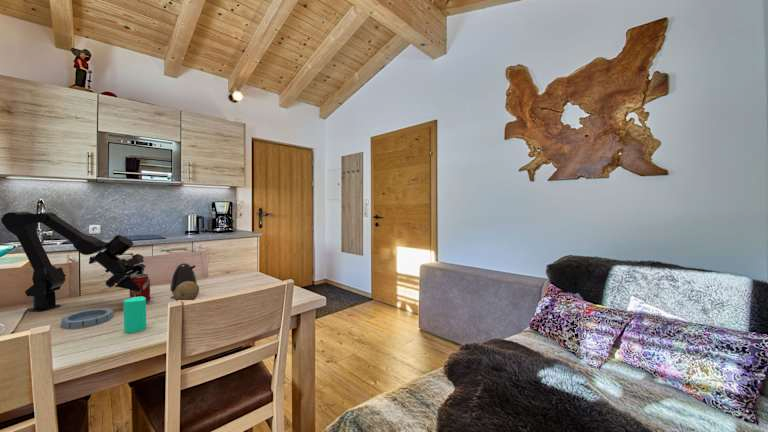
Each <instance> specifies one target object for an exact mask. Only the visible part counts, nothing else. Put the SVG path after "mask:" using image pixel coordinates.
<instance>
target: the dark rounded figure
mask: <svg viewBox="0 0 768 432" xmlns="http://www.w3.org/2000/svg"><path fill="white" fill-rule="evenodd" d="M196 267H197V266H196V265H192V266H191V264H189V263H183V262H182V263H180V264H179V265H177V266H176V268H175V270H174V272H173V275H172V277H171V282H170V292H171V293H172V295H173V294H174V291H175V289H176V287H177V286H178V285H179V284H181V283H183V282H186V281H192V282H195V283H196V284H197V285H198V283H197V282H198V281H197V277H196V274H195V272H194V271H195V270H193V269H195V268H196Z"/></svg>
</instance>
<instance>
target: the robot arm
mask: <svg viewBox="0 0 768 432" xmlns="http://www.w3.org/2000/svg"><path fill="white" fill-rule="evenodd" d="M0 221H1V224H2V225H3V226H4V227H5V229H6V230H7V231H8V232H10V233H12V234H13V235H14V236H15V237H16V238H17V239H18V242H19V244H20V246H21V247H22V249H23V251H24V253H25V256H26V258H27V259H28V261H29V263H30V265H31V267H32V269H33V273H32V277H31V280H32V285H31V286H30V287H29V288H27V289H26V290H25V291H24V293H25V295H26V296H27V297H32V307H29V308H27V311H33V312H43V311H48V310H51V309H54V308H58V307H61V304H57V301H56V300H57V298H56V291H59V290H60V289H61V287H62V286H63V284H64V283H65V282H66V277H67V275H66V274H65V273H64V269H63V268H62V267H55V266H54V265H52V263H51V260H50V258H49V256H48V254H47V252H46V250H45V249H44V246H43V244H42V242H41V240H40V238H39V236H38V234H37V232H36V231H37V228H38V224H39V223H41V224H42V225H44V226H46V227H48V228H49V229H50V230H52V231H54V232H55V233H57V234H58V235H60V236H61V237H63V238H64V239H66V240H68V241H69V242H70V243H71V244H72V245H73V247H74V248H75V250H76V251H78V252H79V253H80V254H81V255H84V256H90V255H92V256H90V257H89V260H88V264H89V265H92V264H95V263H98V264H99V265H100V266H101V267H103V268H104V269H105V270H104V272H105V273H111V274H112V276H110V277H109V278H108V279H107V280H106V281H105V286H107V287H108V288H109V289H110V288H112V287H115V288H121V289H125V290H129V291H130V290H134V291H140V290H141V289H140V288H139V287H138V286H137V285H136V284H135V283H134V282H133V281H132V280H131V278H132V277H131V276H133V275H138V274H144V271H145V268H146V265H145V264H143V262H145V260H144V258H145V257H144V256H143V255H142V254H139V253H136V254H133V255H132V258H128V259H126V258H122V259H121V258H120V257H118V256H122V255H124V254H125V253H126V252H127V251H128V250H130V248H132V247H133V246H134V244H135V243H134V242H133V241H132V240H131V239H130V238H127V237H126V236H122V235H121V234H116V235H115V236H114V237H113V239H111V240H110V241H103V240H101V239H99V238H97V237H95V236H92V235H89V234H86V233H83V231H80V230H79V229H77V227H75V226H73V225H71V224H69V223H68V222H67V221H65V220H64V219H62V218H61V217H59V216H58V215H57V214H56V213H55V212H52V211H51V212H49V211H48V212H40V213H32V212H30V211H15V212H14V211H13V212H11V211H10V212H7V213H5V214H3V216H2V217H1V218H0ZM103 250H104V251H103ZM93 254H95V255H93Z"/></svg>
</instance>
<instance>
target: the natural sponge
mask: <svg viewBox="0 0 768 432" xmlns="http://www.w3.org/2000/svg"><path fill="white" fill-rule="evenodd" d="M199 286H200V285H198V283H197V284H196V283H195V282H192V281H186V282H183V283H181V284H179V285H178V286H177V287H176V289H175V291H174V294H172V296H173V299H174V300H175V301H177V302H178V300H194V299H195V300H196V299H197V297H198V295H199V294H200V293H199V292H200V287H199ZM195 300H194V301H195Z"/></svg>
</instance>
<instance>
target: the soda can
mask: <svg viewBox="0 0 768 432" xmlns="http://www.w3.org/2000/svg"><path fill="white" fill-rule="evenodd" d="M131 277H132V278H131V280H132V281H133V282H134V283H135V284H136V285H137V286H138V287H139V288H140V289H141V290H140V291H134V290H130V289H129V299H130V298H133V297H141V296H143V297H145V298H146V304H148V303H149V302H151V278H150V277H149V274H147V273H143V274H138V275H133V276H131Z"/></svg>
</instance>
